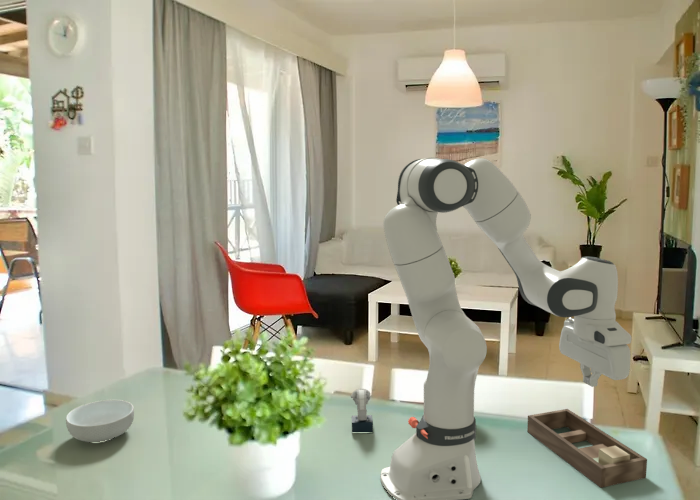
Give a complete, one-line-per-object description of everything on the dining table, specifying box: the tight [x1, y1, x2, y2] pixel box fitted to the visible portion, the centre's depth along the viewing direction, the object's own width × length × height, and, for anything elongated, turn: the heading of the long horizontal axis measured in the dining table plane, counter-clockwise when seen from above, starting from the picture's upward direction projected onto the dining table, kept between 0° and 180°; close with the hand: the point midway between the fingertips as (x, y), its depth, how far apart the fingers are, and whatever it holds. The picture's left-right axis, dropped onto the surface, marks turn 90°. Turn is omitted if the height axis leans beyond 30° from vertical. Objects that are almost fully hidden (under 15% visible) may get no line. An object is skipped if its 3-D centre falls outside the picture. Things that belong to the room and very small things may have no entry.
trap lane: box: [527, 408, 648, 489], centre depth 147 cm, size 12×28×4 cm, turn 17°
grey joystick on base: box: [350, 388, 374, 433], centre depth 162 cm, size 6×8×11 cm
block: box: [598, 446, 630, 466], centre depth 137 cm, size 4×4×4 cm
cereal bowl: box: [65, 399, 135, 443], centre depth 162 cm, size 17×17×7 cm
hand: (589, 384), depth 142 cm, fingers closed
